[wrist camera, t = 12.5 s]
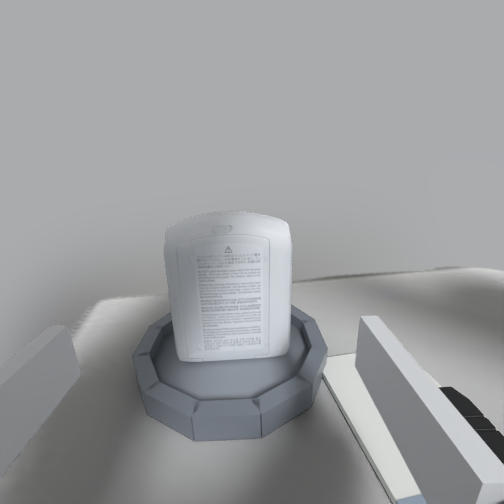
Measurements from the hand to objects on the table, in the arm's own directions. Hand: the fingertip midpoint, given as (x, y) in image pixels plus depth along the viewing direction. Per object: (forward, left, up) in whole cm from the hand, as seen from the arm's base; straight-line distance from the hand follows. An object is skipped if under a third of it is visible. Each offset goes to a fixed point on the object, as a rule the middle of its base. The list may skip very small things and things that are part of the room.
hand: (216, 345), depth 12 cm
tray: (0, -10, -9) cm, 13 cm away
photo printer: (0, -10, -8) cm, 13 cm away
